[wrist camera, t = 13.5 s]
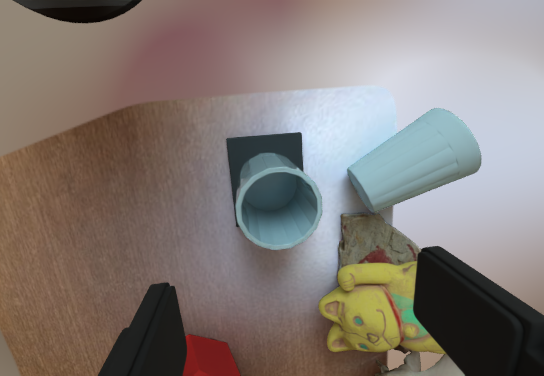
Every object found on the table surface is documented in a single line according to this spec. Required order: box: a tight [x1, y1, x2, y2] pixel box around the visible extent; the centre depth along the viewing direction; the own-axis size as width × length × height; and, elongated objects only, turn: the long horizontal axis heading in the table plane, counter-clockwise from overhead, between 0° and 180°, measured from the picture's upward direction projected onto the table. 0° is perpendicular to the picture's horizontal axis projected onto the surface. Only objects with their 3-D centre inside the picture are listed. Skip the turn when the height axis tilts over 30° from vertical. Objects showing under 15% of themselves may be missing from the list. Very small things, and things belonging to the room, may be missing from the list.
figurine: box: [319, 261, 446, 354], centre depth 30 cm, size 11×9×15 cm
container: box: [236, 153, 322, 250], centre depth 25 cm, size 7×7×9 cm
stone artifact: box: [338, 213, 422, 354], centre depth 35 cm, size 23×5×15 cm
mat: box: [226, 132, 303, 227], centre depth 30 cm, size 10×8×1 cm
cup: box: [347, 108, 481, 213], centre depth 28 cm, size 8×8×10 cm
